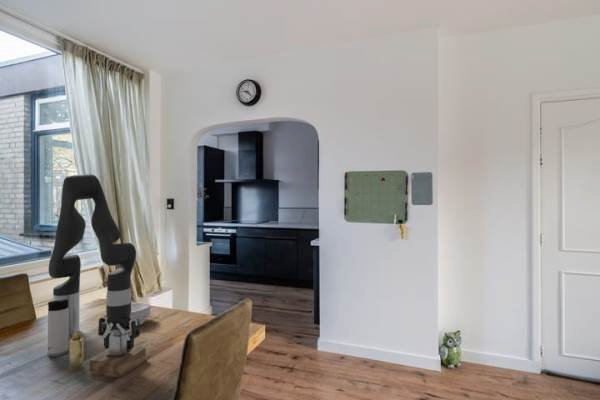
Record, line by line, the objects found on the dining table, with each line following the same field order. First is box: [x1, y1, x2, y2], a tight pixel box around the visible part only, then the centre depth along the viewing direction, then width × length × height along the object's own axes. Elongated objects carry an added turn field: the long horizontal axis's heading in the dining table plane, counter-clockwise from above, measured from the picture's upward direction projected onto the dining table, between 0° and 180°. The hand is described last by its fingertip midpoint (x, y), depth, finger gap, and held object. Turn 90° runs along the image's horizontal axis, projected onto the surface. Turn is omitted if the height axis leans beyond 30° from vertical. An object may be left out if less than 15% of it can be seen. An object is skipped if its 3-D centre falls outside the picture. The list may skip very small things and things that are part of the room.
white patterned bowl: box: [130, 301, 151, 326], centre depth 153 cm, size 15×15×8 cm
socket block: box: [89, 345, 147, 378], centre depth 114 cm, size 12×12×4 cm
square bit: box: [108, 329, 128, 358], centre depth 114 cm, size 4×4×12 cm
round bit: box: [68, 331, 85, 372], centre depth 113 cm, size 4×4×12 cm
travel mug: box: [47, 299, 70, 358], centre depth 124 cm, size 6×7×20 cm
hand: (118, 348), depth 114 cm, fingers open, 8 cm apart
